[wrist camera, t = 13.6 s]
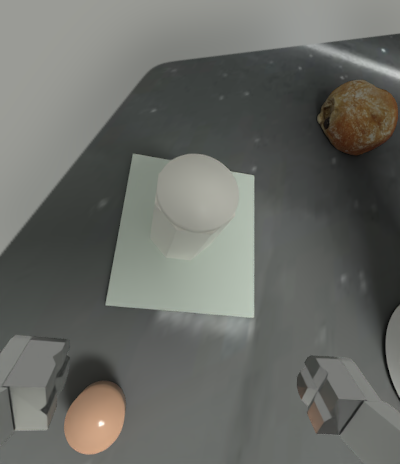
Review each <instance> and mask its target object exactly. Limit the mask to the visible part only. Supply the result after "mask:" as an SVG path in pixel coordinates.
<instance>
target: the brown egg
mask: <svg viewBox="0 0 400 464" xmlns="http://www.w3.org/2000/svg"><path fill="white" fill-rule="evenodd" d="M125 410H126V400H125V395H124V393H123V391H122V389H121V388H120V387H119V386H118V385H117V384H115V383H113V382H111V381H97V382H94V383H92V384H91V385H89V386H88V387H86V388H85V389H84V390H83V391H82V392H81V394H80V395H79V396H78V397H77V398H76V399H75V401H74V402H73V403H72V405H71V406H70V408H69V410H68V412H67V414H66V418H65V423H64V431H65V436H66V439H67V441H68V443H69V445H70V446H71V447H72V448H73V449H74V450H76V451H77V452H80V453H82V454H96V453H99V452H101V451H103V450H105V449H107V448H108V447H109V446H110V445H111V444H112V443H113V442H114V441H115V440H116V439H117V437H118V436H119V434H120V432H121V429H122V426H123V422H124V416H125Z"/></svg>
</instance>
